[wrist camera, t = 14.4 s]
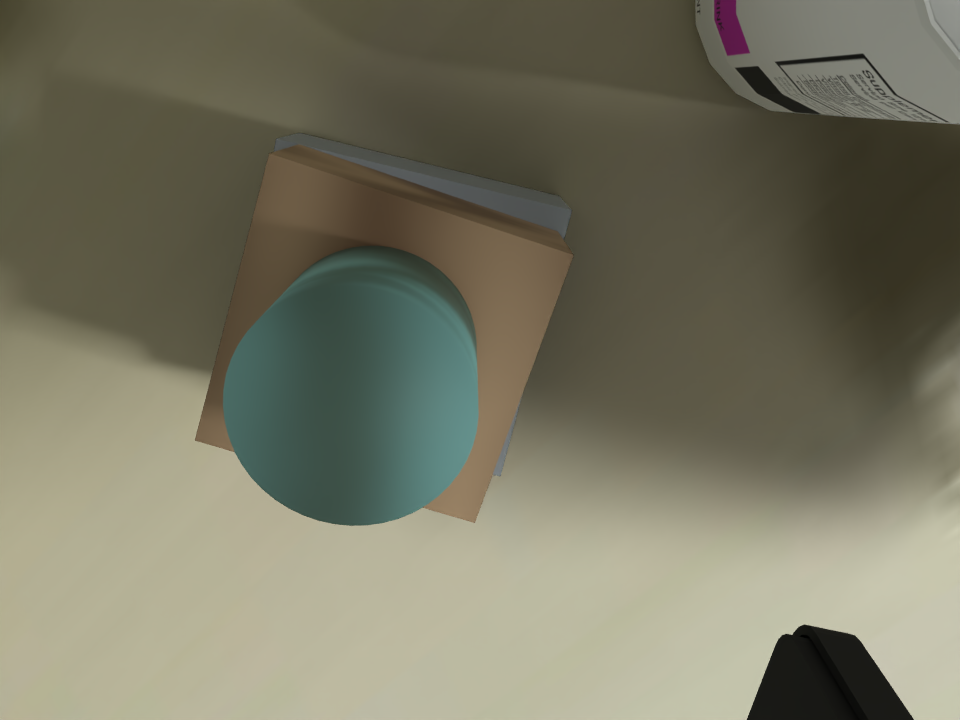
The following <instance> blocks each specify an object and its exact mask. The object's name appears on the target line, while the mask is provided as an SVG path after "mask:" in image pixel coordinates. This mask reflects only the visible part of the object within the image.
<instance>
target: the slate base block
mask: <svg viewBox="0 0 960 720" xmlns="http://www.w3.org/2000/svg"><path fill="white" fill-rule="evenodd" d="M298 144H300V145H303V146H306V147H309V148H312V149H315V150H318V151H321V152H324V153H327V154H330V155H333V156H336V157H339V158H342V159H344V160H347V161H350V162H353V163H356V164H359V165H362V166H365V167H368V168H371V169H374V170H377V171H380V172H383V173H386V174H389V175H392V176H395V177H398V178H401V179H404V180H407V181H410V182H413V183H416V184H419V185H422V186H425V187H428V188H431V189H434V190H436V191H439V192H442V193H445V194H448V195H451V196H454V197H457V198H460V199H463V200H466V201H469V202H472V203H475V204H478V205H481V206H484V207H487V208H490V209H493V210H496V211H499V212H502V213H505V214H508V215H511V216H514V217H517V218H520V219H523V220H525V221H528V222H531V223H534V224H537V225H540V226H543V227H546V228H549V229H552V230H555V231H558V232H559V234H560V235H561V237H562V238H563V240H564V238H565V235H566V231H567V227H568V223H569V220H570V216H571V212H572V210H571V209H570V207H569V206H568V205H567V204H566V203H565V202H564V201H563V200H562V199H561V198H560V196H557V195H553V194H549V193H545V192H541V191H537V190H533V189H529V188H524V187H520V186H516V185H512V184H508V183H504V182H500V181H496V180H491V179H487V178H483V177H479V176H475V175H471V174H467V173H463V172H459V171H454V170H450V169H446V168H442V167H438V166H434V165H430V164H426V163H421V162H417V161H413V160H409V159H405V158H401V157H397V156H393V155H389V154H384V153H380V152H376V151H372V150H368V149H364V148H360V147H356V146H351V145H347V144H343V143H339V142H335V141H331V140H327V139H323V138H319V137H314V136H310V135H306V134H302V133H297V134H293V135H289V136H285V137H281V138H277V139H276V142H275V148H274V152H275V151H278V150H282V149H285V148H288V147H291V146H295V145H298ZM521 398H522V396H521ZM520 402H521V399H520ZM520 402H519V405H520ZM519 405H518V407H517V410H516V413H515V415H514V418H513V421H512V424H511V426H510V429H509V432H508V434H507V437H506V440H505V442H504V445H503V448H502V451H501V453H500V456H499V459H498V461H497V464H496V467H495V469H494V472H493V475H497V476H501V472H502V469H503V465H504V461H505V457H506V454H507V450H508V446H509V443H510V439H511V435H512V431H513V428H514V424H515V420H516V417H517V413H518V409H519Z"/></svg>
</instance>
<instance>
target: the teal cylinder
mask: <svg viewBox="0 0 960 720" xmlns="http://www.w3.org/2000/svg"><path fill="white" fill-rule="evenodd" d="M223 411H224V420H225V425H226V429H227V433H228V436H229V439H230V442H231V444H232V447H233V449H234V451H235V453H236V455H237V457H238V459H239V460H240V462H241V464H242V466H243V467H244V468H245V470H246V471H247V472H248V474H249V475H250V476H251V478H252V479H253V480H254V481H255V482H256V483H257V484H258V485H259V486H260V487H261V488H262V489H263V490H264V491H265V492H266V493H268V494H269V495H270V496H271V497H273V498H274V499H275V500H276V501H278V502H280V503H281V504H283V505H284V506H286V507H288V508H289V509H291V510H293V511H295V512H298V513H300V514H302V515H304V516H307V517H310V518H313V519H316V520H318V521H323V522H328V523H332V524H339V525H350V526H354V525H372V524H379V523H384V522H388V521H392V520H396V519H399V518H401V517H404V516H406V515H409V514H411V513H413V512H415V511H417V510H419V509H420V508H422V507H424V506H426V505H427V504H429V503H430V502H431V501H433V500H434V499H435V498H437V497H438V496H439V495H440V494H441V493H442V492H443V491H444V490H445V489H446V488H447V487H449V486H450V484H451V483H452V482H453V481H454V479H455V478H456V477H457V475H458V474H459V473H460V471H461V469H462V468H463V466H464V464H465V463H466V461H467V459H468V456H469V454H470V452H471V449H472V447H473V444H474V440H475V436H476V432H477V425H478V417H479V409H478V374H477V342H476V332H475V326H474V322H473V319H472V316H471V312H470V310H469V308H468V306H467V304H466V301H465V300H464V298H463V296H462V295H461V293H460V292H459V290H458V289H457V287H456V286H455V285H454V284H453V283H452V281H451V280H450V279H449V278H448V277H447V276H446V275H445V274H444V273H443V272H442V271H441V270H439V269H438V268H437V267H435V266H434V265H432V264H431V263H430V262H428V261H426V260H424V259H422V258H421V257H419V256H417V255H414V254H412V253H409V252H407V251H404V250H400V249H396V248H392V247H384V246H359V247H353V248H348V249H344V250H341V251H337V252H335V253H333V254H330V255H328V256H326V257H324V258H322V259H320V260H319V261H317V262H316V263H314V264H312V265H311V266H310V267H309V268H308V269H306V270H305V271H304V272H303V273H302V274H301V275H300V276H299V277H298V278H297V279H296V280H295V281H294V282H293V283H292V284H291V285H290V286H289V287H288V289H287V290H286V291H285V292H284V293H283V294H282V295H281V296H280V297H279V298H278V299H277V300H276V301H275V302H274V303H273V304H272V305H271V306H270V308H269V309H268V310H267V311H266V312H265V313H264V314H263V315H262V316H261V317H260V318H259V319H258V320H257V321H256V322H255V323H254V325H253V326H252V327H251V328H250V329H249V330H248V331H247V332H246V334H245V335H244V337H243V338H242V340H241V341H240V343H239V344H238V346H237V348H236V350H235V352H234V354H233V356H232V358H231V361H230V364H229V367H228V370H227V373H226V378H225V383H224V389H223Z"/></svg>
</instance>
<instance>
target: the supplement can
mask: <svg viewBox="0 0 960 720" xmlns="http://www.w3.org/2000/svg"><path fill="white" fill-rule="evenodd" d="M695 10H696V27H697V30H698V33H699V35H700V38H701V41H702V44H703V46H704V49H705V52H706V54H707V57H708V60H709V63H710V64H711V66H712V67H713V68H714V69H715V70H716V71H717V73H718V74H719V75H720V76H721V77H722V78H723V79H724V81H725V82H726V83H727V84H728V85H729V86H730V87H731V89H732V90H733V91H734V92H735V93H736V94H738V95H740V96H742V97H744V98H746V99H748V100H750V101H752V102H754V103H756V104H758V105H760V106H762V107H763V108H765V109H767V110H769V111H778V112H790V113H801V114H813V115H828V116H843V117H857V118H872V119H887V120H902V121H917V122H931V123H946V124H960V0H695Z"/></svg>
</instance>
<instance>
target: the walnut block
mask: <svg viewBox="0 0 960 720" xmlns="http://www.w3.org/2000/svg"><path fill="white" fill-rule="evenodd" d="M359 246H384V247H392V248H396V249H400V250H404V251H407V252H409V253H412V254H414V255H417V256H419V257H421V258H422V259H424V260H426V261H428V262H430V263H431V264H432V265H434V266H435V267H437V268H438V269H439V270H441V271H442V272H443V273H444V274H445V275H446V276H447V277H448V278H449V279H450V280H451V281H452V283H453V284H454V285H455V286H456V287H457V289H458V290H459V292H460V293H461V295H462V296H463V298H464V300H465V301H466V304H467V306H468V308H469V310H470V312H471V316H472V319H473V322H474V326H475V332H476V342H477V374H478V409H479V417H478V425H477V432H476V436H475V440H474V444H473V447H472V449H471V452H470V454H469V456H468V459H467V461H466V463H465V464H464V466H463V468H462V469H461V471H460V473H459V474H458V475H457V477H456V478H455V479H454V481H453V482H452V483H451V484H450V486H449V487H447V488H446V489H445V490H444V491H443V492H442V493H441V494H440V495H439V496H438V497H437V498H435V499H434V500H433V501H431V502H430V503H429V504H427V505H426V506H424V507H423V508H426V509H429V510H433V511H436V512H440V513H443V514H446V515H450V516H453V517H457V518H460V519H463V520H467V521H470V522H473V523H475V521H476V518H477V515H478V513H479V510H480V507H481V505H482V502H483V499H484V496H485V494H486V491H487V488H488V486H489V483H490V480H491V478H492V475H493V472H494V469H495V467H496V464H497V461H498V459H499V456H500V453H501V451H502V448H503V445H504V442H505V440H506V437H507V434H508V432H509V429H510V426H511V424H512V421H513V418H514V415H515V413H516V410H517V407H518V405H519V402H520V399H521V396H522V394H523V391H524V388H525V386H526V383H527V380H528V378H529V375H530V372H531V369H532V367H533V364H534V361H535V359H536V356H537V353H538V351H539V348H540V345H541V342H542V340H543V337H544V334H545V332H546V329H547V326H548V324H549V321H550V318H551V315H552V313H553V310H554V307H555V305H556V302H557V299H558V297H559V294H560V291H561V288H562V286H563V283H564V280H565V278H566V275H567V272H568V270H569V267H570V264H571V261H572V259H573V256H574V255H573V253H572V252H571V250H570V249H569V247H568V246H567V244H566V243H565V241H564V240H563V238H562V237H561V235H560V234H559V232H558V231H555V230H552V229H549V228H546V227H543V226H540V225H537V224H534V223H531V222H528V221H525V220H523V219H520V218H517V217H514V216H511V215H508V214H505V213H502V212H499V211H496V210H493V209H490V208H487V207H484V206H481V205H478V204H475V203H472V202H469V201H466V200H463V199H460V198H457V197H454V196H451V195H448V194H445V193H442V192H439V191H436V190H434V189H431V188H428V187H425V186H422V185H419V184H416V183H413V182H410V181H407V180H404V179H401V178H398V177H395V176H392V175H389V174H386V173H383V172H380V171H377V170H374V169H371V168H368V167H365V166H362V165H359V164H356V163H353V162H350V161H347V160H344V159H342V158H339V157H336V156H333V155H330V154H327V153H324V152H321V151H318V150H315V149H312V148H309V147H306V146H303V145H300V144H298V145H295V146H291V147H288V148H285V149H282V150H278V151H275V152H272V153H269V156H268V160H267V164H266V168H265V171H264V175H263V179H262V183H261V187H260V191H259V195H258V199H257V202H256V206H255V210H254V214H253V218H252V222H251V226H250V229H249V233H248V237H247V241H246V245H245V249H244V253H243V256H242V260H241V264H240V268H239V272H238V276H237V280H236V283H235V287H234V291H233V295H232V299H231V303H230V307H229V310H228V314H227V318H226V322H225V326H224V330H223V334H222V338H221V341H220V345H219V349H218V353H217V357H216V361H215V365H214V368H213V372H212V376H211V380H210V384H209V388H208V392H207V395H206V399H205V403H204V407H203V411H202V415H201V419H200V422H199V426H198V430H197V434H196V438H195V441H199V442H202V443H206V444H209V445H212V446H216V447H219V448H223V449H226V450H229V451H233V452H235V451H234V449H233V447H232V444H231V442H230V439H229V436H228V433H227V429H226V425H225V420H224V411H223V389H224V383H225V378H226V373H227V370H228V367H229V364H230V361H231V358H232V356H233V354H234V352H235V350H236V348H237V346H238V344H239V343H240V341H241V340H242V338H243V337H244V335H245V334H246V332H247V331H248V330H249V329H250V328H251V327H252V326H253V325H254V323H255V322H256V321H257V320H258V319H259V318H260V317H261V316H262V315H263V314H264V313H265V312H266V311H267V310H268V309H269V308H270V306H271V305H272V304H273V303H274V302H275V301H276V300H277V299H278V298H279V297H280V296H281V295H282V294H283V293H284V292H285V291H286V290H287V289H288V287H289V286H290V285H291V284H292V283H293V282H294V281H295V280H296V279H297V278H298V277H299V276H300V275H301V274H302V273H303V272H304V271H305V270H306V269H308V268H309V267H310V266H311V265H312V264H314V263H316V262H317V261H319V260H320V259H322V258H324V257H326V256H328V255H330V254H333V253H335V252H337V251H341V250H344V249H348V248H353V247H359Z"/></svg>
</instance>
